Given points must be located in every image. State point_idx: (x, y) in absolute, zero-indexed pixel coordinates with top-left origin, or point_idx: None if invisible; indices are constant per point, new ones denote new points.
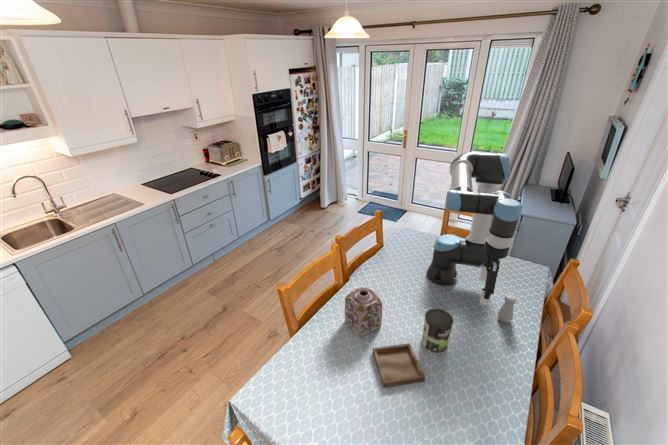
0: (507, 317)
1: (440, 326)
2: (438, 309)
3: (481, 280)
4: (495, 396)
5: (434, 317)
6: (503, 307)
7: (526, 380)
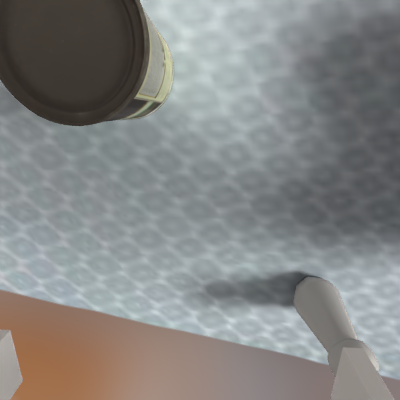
0: (300, 310)
1: (6, 54)
2: (140, 29)
3: (341, 367)
4: (23, 243)
5: (59, 9)
6: (327, 316)
7: (105, 311)
